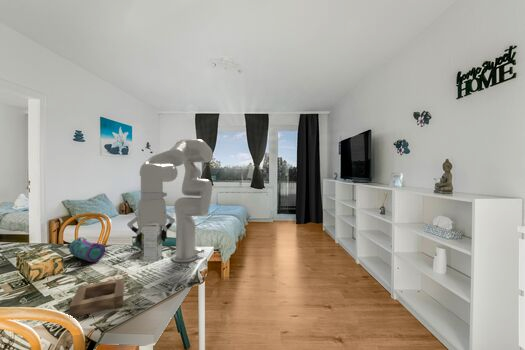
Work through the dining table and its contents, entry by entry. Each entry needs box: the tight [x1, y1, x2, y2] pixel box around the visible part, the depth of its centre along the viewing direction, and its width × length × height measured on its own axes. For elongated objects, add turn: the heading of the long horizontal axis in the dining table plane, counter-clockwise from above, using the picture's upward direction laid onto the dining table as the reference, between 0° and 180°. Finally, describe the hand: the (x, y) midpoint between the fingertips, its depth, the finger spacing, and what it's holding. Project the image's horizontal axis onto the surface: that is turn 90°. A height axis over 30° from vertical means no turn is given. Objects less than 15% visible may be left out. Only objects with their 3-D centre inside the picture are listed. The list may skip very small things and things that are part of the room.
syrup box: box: [140, 223, 163, 262], centre depth 89 cm, size 6×6×14 cm
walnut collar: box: [69, 277, 125, 318], centre depth 81 cm, size 14×14×4 cm
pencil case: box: [66, 236, 106, 263], centre depth 119 cm, size 21×9×10 cm, turn 60°
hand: (152, 241), depth 89 cm, fingers closed on syrup box, 7 cm apart
